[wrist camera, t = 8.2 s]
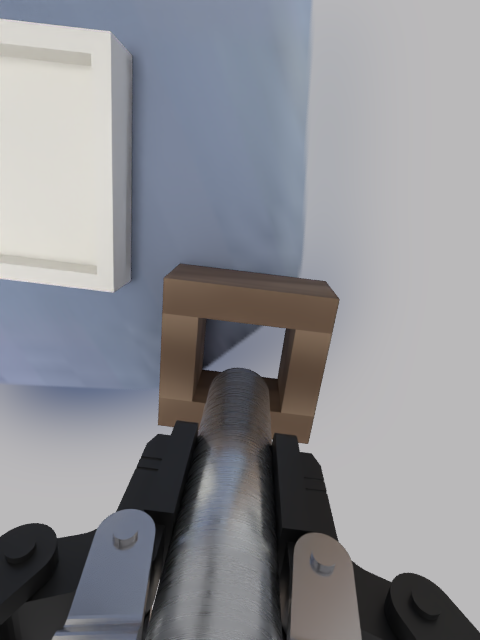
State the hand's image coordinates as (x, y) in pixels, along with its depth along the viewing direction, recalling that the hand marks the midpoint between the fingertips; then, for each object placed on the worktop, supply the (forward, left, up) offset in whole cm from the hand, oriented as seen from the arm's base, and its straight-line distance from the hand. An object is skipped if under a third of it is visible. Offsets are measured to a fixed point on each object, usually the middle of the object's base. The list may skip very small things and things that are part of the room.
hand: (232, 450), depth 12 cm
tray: (-8, -12, -9) cm, 17 cm away
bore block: (0, 0, -9) cm, 9 cm away
